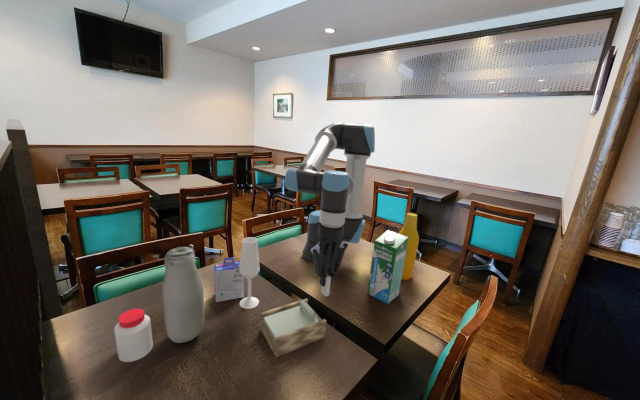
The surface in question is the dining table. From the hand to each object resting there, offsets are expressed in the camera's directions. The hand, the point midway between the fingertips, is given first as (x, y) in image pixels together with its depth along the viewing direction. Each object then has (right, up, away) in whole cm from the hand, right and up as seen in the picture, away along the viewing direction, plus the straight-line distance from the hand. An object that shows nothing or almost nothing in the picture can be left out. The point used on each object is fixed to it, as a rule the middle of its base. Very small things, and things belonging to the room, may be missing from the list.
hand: (324, 293), depth 84 cm
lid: (-10, -7, -4) cm, 13 cm away
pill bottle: (-51, -11, -13) cm, 54 cm away
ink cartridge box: (-35, -5, +13) cm, 37 cm away
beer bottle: (+36, -4, +37) cm, 51 cm away
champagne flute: (-27, -7, +10) cm, 29 cm away
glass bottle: (-41, -10, -7) cm, 42 cm away
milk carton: (+23, -8, +21) cm, 32 cm away
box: (-10, -11, -3) cm, 15 cm away
